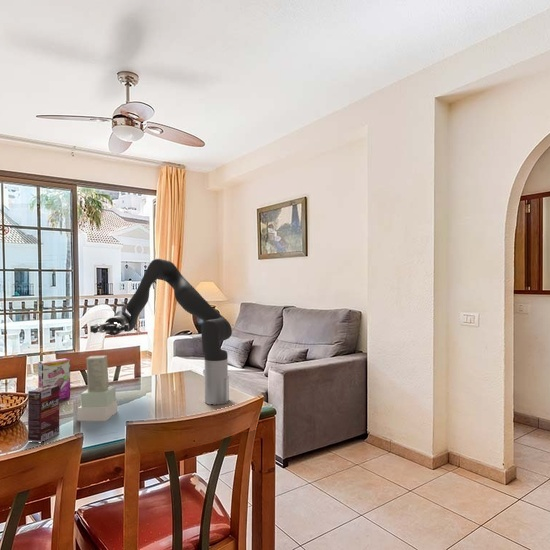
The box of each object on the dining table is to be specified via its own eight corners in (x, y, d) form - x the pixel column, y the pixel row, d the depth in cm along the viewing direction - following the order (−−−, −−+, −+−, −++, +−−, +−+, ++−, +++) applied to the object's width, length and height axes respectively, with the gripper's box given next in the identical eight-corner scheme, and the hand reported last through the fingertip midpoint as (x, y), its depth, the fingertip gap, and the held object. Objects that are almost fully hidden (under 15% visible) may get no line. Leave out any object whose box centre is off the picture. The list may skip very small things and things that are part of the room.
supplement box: (41, 444, 129) (40, 392, 128) (27, 442, 130) (26, 391, 129) (60, 433, 137) (60, 384, 137) (47, 432, 138) (47, 384, 138)
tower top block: (115, 399, 158) (115, 386, 158) (106, 406, 149) (106, 392, 149) (91, 399, 158) (91, 386, 158) (81, 407, 149) (81, 393, 149)
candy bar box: (42, 404, 168) (41, 363, 168) (38, 401, 172) (37, 361, 172) (71, 398, 176) (70, 359, 176) (66, 395, 180) (66, 357, 180)
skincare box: (108, 387, 156) (107, 355, 155) (104, 391, 151) (103, 357, 151) (91, 388, 155) (90, 355, 155) (86, 391, 151) (85, 358, 151)
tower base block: (117, 412, 158) (117, 399, 158) (105, 421, 148) (105, 407, 148) (91, 412, 158) (91, 399, 158) (77, 421, 149) (77, 407, 148)
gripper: (98, 316, 179) (86, 321, 163) (132, 316, 181) (124, 320, 165) (98, 334, 179) (86, 340, 163) (133, 333, 181) (124, 339, 165)
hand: (105, 330), depth 164 cm, fingers open, 8 cm apart
